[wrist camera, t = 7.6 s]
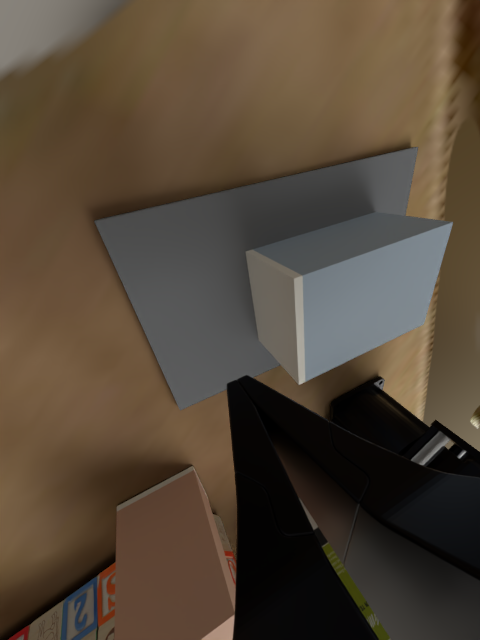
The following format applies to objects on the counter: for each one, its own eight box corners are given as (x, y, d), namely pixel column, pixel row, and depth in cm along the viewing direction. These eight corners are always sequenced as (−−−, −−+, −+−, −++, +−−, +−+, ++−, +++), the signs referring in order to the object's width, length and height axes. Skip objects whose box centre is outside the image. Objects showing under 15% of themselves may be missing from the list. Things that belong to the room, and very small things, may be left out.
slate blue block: (245, 251, 13) (375, 211, 16) (258, 340, 17) (364, 296, 19) (293, 278, 10) (453, 222, 12) (298, 384, 13) (423, 324, 15)
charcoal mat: (411, 147, 15) (418, 147, 15) (382, 315, 22) (386, 317, 21) (94, 220, 10) (94, 221, 10) (178, 406, 17) (180, 410, 17)
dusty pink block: (116, 506, 19) (113, 704, 11) (192, 465, 20) (235, 614, 13) (139, 535, 21) (149, 720, 13) (207, 496, 23) (251, 640, 15)
